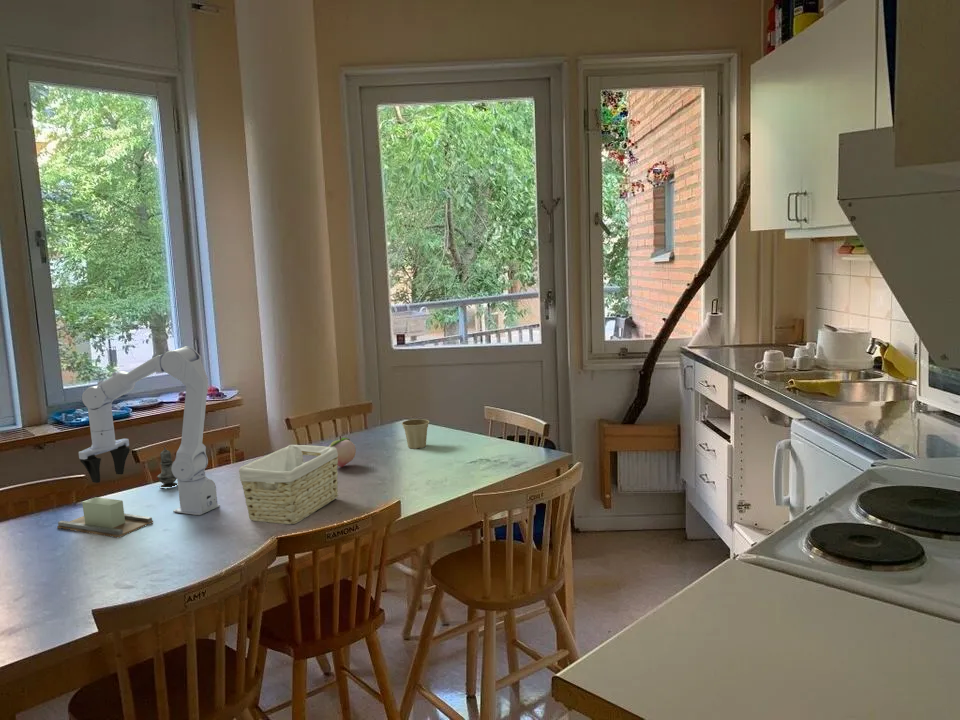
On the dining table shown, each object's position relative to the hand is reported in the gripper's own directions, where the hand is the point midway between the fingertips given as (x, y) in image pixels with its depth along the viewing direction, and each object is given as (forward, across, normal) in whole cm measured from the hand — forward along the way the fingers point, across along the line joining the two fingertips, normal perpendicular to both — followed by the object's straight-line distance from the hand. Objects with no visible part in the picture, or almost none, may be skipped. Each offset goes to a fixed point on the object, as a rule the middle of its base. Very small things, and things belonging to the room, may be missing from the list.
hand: (108, 478), depth 212 cm
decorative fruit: (+10, -54, +39) cm, 67 cm away
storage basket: (+10, -16, +49) cm, 52 cm away
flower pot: (+10, -82, +50) cm, 97 cm away
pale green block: (+9, +9, +8) cm, 15 cm away
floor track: (+9, +9, +8) cm, 15 cm away
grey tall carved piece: (+10, -22, -2) cm, 24 cm away
